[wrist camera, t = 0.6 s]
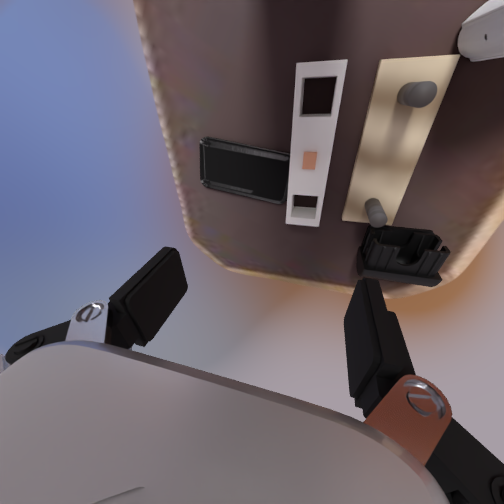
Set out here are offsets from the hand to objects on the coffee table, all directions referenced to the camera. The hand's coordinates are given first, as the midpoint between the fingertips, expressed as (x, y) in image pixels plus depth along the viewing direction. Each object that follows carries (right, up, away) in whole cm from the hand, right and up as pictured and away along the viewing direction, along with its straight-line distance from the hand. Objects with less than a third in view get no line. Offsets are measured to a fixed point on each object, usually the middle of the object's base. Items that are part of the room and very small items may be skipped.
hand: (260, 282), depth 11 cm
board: (+17, +14, +17) cm, 28 cm away
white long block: (+8, +16, +19) cm, 26 cm away
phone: (-1, +15, +24) cm, 28 cm away
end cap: (+23, +3, +24) cm, 33 cm away
